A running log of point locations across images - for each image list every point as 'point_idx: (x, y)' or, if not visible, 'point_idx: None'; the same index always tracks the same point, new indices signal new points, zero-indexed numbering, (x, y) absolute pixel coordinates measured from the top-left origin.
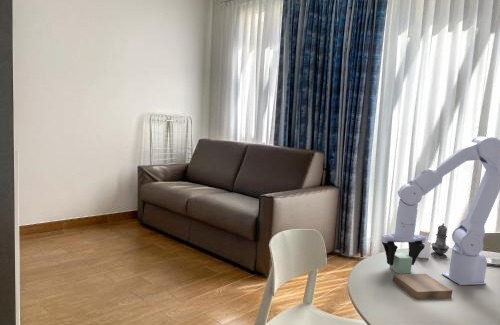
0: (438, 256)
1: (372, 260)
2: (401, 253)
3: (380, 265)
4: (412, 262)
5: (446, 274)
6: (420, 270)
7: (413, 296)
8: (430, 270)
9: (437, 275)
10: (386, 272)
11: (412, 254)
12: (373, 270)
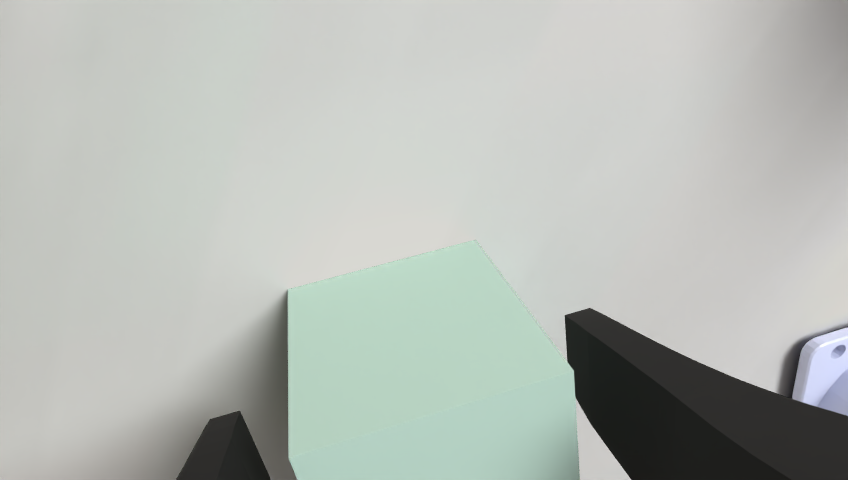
0: None
1: (34, 23)
2: (503, 419)
3: (158, 239)
4: (586, 411)
5: (824, 377)
6: (657, 283)
7: None
8: (770, 256)
9: (743, 364)
10: (194, 443)
11: (662, 469)
12: (9, 436)
